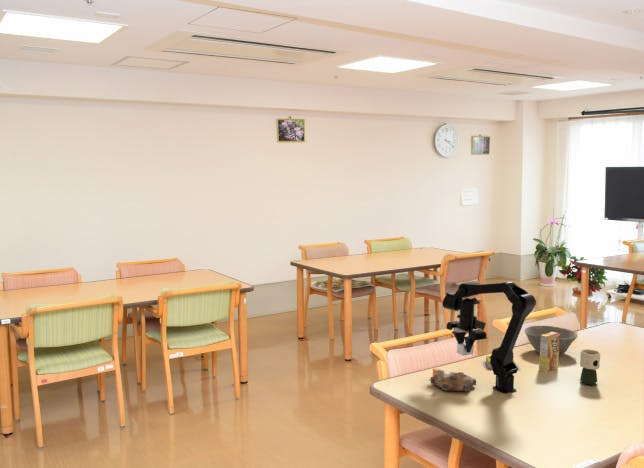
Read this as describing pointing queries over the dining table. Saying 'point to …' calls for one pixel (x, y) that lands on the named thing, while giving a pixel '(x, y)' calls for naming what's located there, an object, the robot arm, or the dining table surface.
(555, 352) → the candy box
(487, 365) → the emergency button
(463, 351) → the grey small block
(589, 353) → the character mug
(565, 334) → the ceramic bowl
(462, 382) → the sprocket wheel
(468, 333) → the robot arm
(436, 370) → the index pointer
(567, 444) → the dining table surface
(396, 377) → the dining table surface
